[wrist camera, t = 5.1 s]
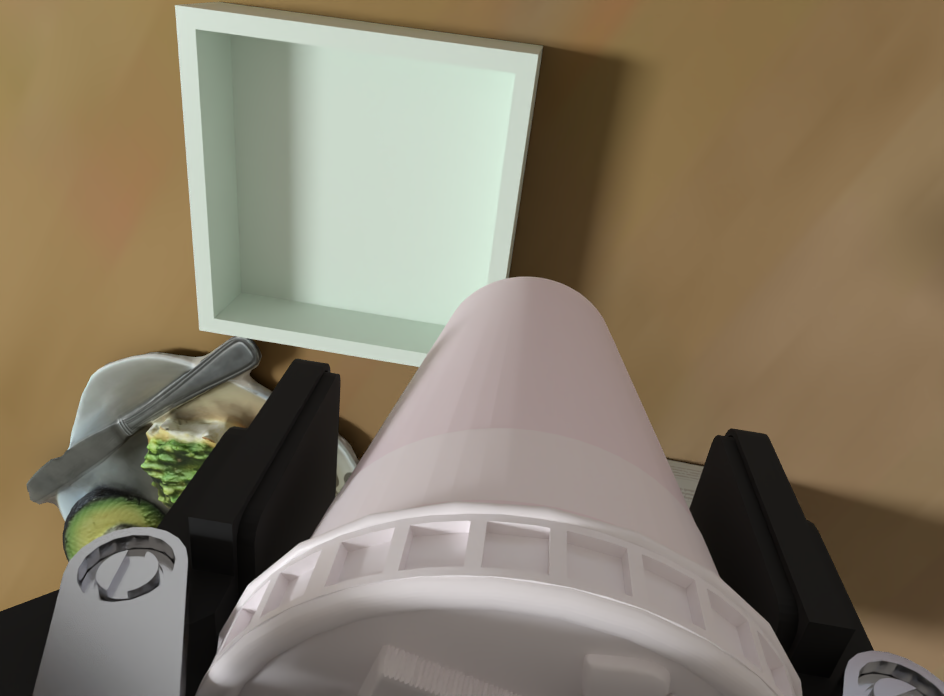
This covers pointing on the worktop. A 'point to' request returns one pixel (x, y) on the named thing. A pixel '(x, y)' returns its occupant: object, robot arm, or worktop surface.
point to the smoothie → (505, 539)
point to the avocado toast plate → (151, 438)
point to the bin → (348, 174)
